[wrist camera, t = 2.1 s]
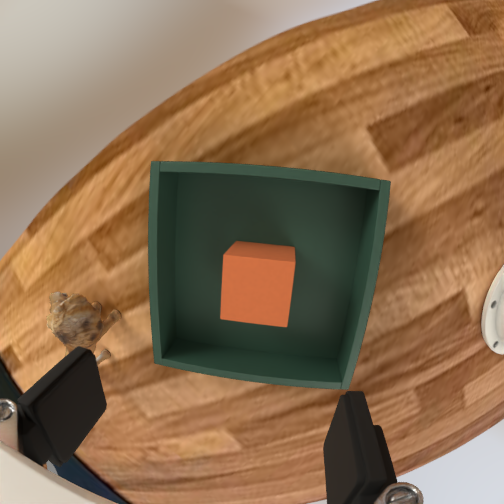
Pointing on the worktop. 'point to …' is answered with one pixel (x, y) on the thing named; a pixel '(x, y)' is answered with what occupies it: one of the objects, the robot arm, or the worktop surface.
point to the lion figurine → (79, 322)
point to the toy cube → (257, 283)
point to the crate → (267, 232)
